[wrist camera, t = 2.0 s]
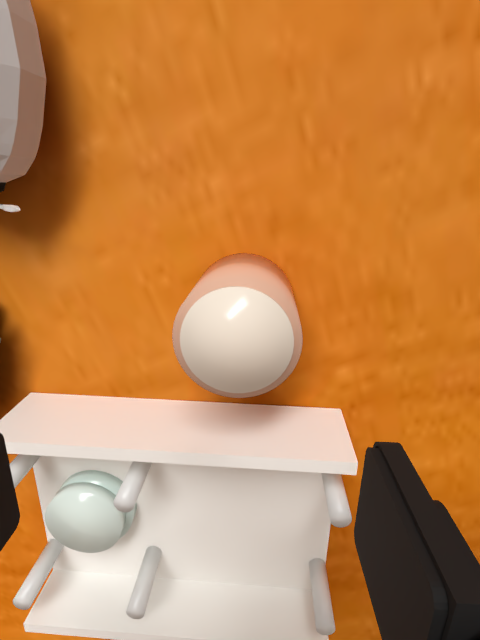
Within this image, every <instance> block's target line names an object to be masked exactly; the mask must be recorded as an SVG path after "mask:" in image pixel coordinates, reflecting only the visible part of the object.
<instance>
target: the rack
mask: <svg viewBox="0 0 480 640" xmlns="http://www.w3.org/2000/svg"><path fill="white" fill-rule="evenodd" d="M0 433H1V434H2V435H3V437H4V440H5V445H6V450H7V454H18V455H17V457H16V458H15V459H14V460H13V461H12V462H11V463H10V469H11V474H12V479H13V483H14V488H15V487H16V486H17V485H18V484H19V483H20V481H21V480H22V479H23V478H24V476H25V475H26V474H27V473H28V472H29V470H30V469H31V468H32V467H33V469H34V474H35V479H36V484H37V489H38V494H39V499H40V504H41V509H42V514H43V519H44V524H45V529H46V534H47V540H48V543H47V545H46V547H45V548H44V550H43V551H42V553H41V555H40V556H39V558H38V560H37V561H36V563H35V565H34V566H33V568H32V570H31V571H30V573H29V574H28V576H27V578H26V579H25V581H24V583H23V584H22V586H21V588H20V589H19V591H18V593H17V594H16V596H15V598H14V599H13V604H14V605H15V606H16V607H17V608H19V609H23V610H26V609H29V608H30V606H31V605H32V603H33V601H34V599H35V597H36V596H37V594H38V592H39V590H40V588H41V587H42V585H43V583H44V581H45V580H46V578H47V576H48V574H49V572H50V571H51V569H52V567H53V571H52V573H51V575H50V577H49V578H48V580H47V582H46V584H45V586H44V587H43V589H42V591H41V593H40V595H39V597H38V598H37V600H36V602H35V604H34V606H33V607H32V609H31V611H30V613H29V615H28V616H27V618H26V620H25V622H24V628H25V632H36V633H47V634H59V635H70V636H81V637H93V638H104V639H115V640H329V639H328V635H331V634H333V633H334V632H335V624H334V617H333V611H332V604H331V597H330V591H329V584H328V578H327V571H326V556H327V548H328V541H329V533H330V525H331V524H332V525H334V526H336V527H346V526H348V525H349V524H350V523H351V521H352V516H351V512H350V508H349V504H348V500H347V496H346V492H345V488H344V484H343V480H342V476H341V474H346V475H356V474H357V467H358V461H357V458H356V455H355V452H354V449H353V446H352V443H351V439H350V436H349V433H348V430H347V427H346V424H345V421H344V418H343V415H342V412H341V409H334V408H315V407H296V406H277V405H258V404H239V403H220V402H201V401H182V400H163V399H144V398H125V397H106V396H87V395H68V394H49V393H30V394H29V395H27V396H26V397H25V398H24V399H23V400H22V401H21V402H20V403H19V404H17V405H16V406H15V407H14V408H13V409H12V410H11V411H10V412H8V413H7V414H6V415H5V416H4V417H3V418H2V419H1V420H0ZM86 470H97V471H102V472H106V473H109V474H111V475H114V476H116V477H117V478H119V479H120V480H122V481H123V483H122V485H121V487H120V489H119V491H118V493H117V495H116V497H115V499H114V502H113V504H114V507H115V508H116V509H117V510H119V511H121V512H130V511H132V510H133V508H134V506H135V504H137V509H136V514H135V516H134V519H133V521H132V524H131V526H130V528H129V530H128V532H127V533H126V534H125V535H124V536H123V537H121V538H119V539H118V541H117V542H116V543H115V545H113V546H112V547H111V548H109V549H107V550H105V551H102V552H97V553H85V552H79V551H76V550H73V549H70V548H68V547H66V546H64V545H63V544H61V543H60V542H59V541H57V540H56V539H55V538H54V537H53V536H52V534H51V533H50V532H49V530H48V528H47V526H46V523H45V512H46V509H47V506H48V505H49V504H50V502H51V501H52V499H53V498H54V496H55V495H56V493H57V492H58V491H59V489H60V488H61V486H62V485H63V483H64V482H65V481H66V480H67V479H68V478H69V477H70V476H71V475H73V474H75V473H78V472H81V471H86Z"/></svg>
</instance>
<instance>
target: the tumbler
mask: <svg viewBox="0 0 480 640" xmlns="http://www.w3.org/2000/svg"><path fill="white" fill-rule="evenodd" d="M302 337H303V336H302V328H301V324H300V320H299V315H298V311H297V307H296V302H295V298H294V294H293V290H292V286H291V284H290V282H289V280H288V278H287V276H286V275H285V273H284V272H283V271H282V270H281V269H280V268H279V267H278V266H277V265H276V264H274V263H273V262H272V261H270V260H268V259H266V258H264V257H262V256H259V255H255V254H248V253H239V254H233V255H229V256H226V257H224V258H221V259H219V260H218V261H216V262H215V263H213V264H212V265H211V266H210V267H209V268H208V269H207V270H206V271H205V272H204V274H203V275H202V277H201V278H200V279H199V281H198V282H197V284H196V285H195V287H194V288H193V289H192V291H191V292H190V294H189V295H188V297H187V298H186V300H185V301H184V302H183V304H182V305H181V307H180V309H179V311H178V313H177V315H176V318H175V321H174V325H173V336H172V339H173V347H174V351H175V354H176V357H177V359H178V361H179V363H180V365H181V367H182V368H183V370H184V371H185V372H186V374H187V375H188V376H189V377H190V378H191V379H192V380H193V381H194V382H196V383H197V384H198V385H200V386H201V387H203V388H204V389H206V390H208V391H210V392H212V393H215V394H218V395H221V396H226V397H233V398H246V397H253V396H257V395H261V394H263V393H266V392H268V391H270V390H272V389H274V388H276V387H277V386H278V385H280V384H281V383H282V382H283V381H284V380H286V379H287V377H288V376H289V375H290V374H291V373H292V371H293V370H294V368H295V367H296V364H297V362H298V360H299V357H300V354H301V350H302Z"/></svg>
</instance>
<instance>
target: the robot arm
mask: <svg viewBox="0 0 480 640" xmlns="http://www.w3.org/2000/svg"><path fill="white" fill-rule="evenodd" d="M19 519H20V512H19V507H18V503H17V498H16V493H15V488H14V483H13V479H12V474H11V469H10V464H9V460H8V455H7V450H6V445H5V440H4V437H3V435H2V434H1V433H0V551H1V550H2V548H3V547H4V545H5V544H6V543H7V541H8V540H9V538H10V537H11V535H12V534H13V533H14V531H15V530H16V528H17V526H18V523H19ZM354 537H355V544H356V548H357V552H358V555H359V559H360V562H361V566H362V570H363V573H364V577H365V580H366V584H367V587H368V591H369V594H370V598H371V602H372V605H373V609H374V612H375V616H376V619H377V623H378V626H379V630H380V634H381V637H382V640H480V565H479V563H478V561H477V560H476V558H475V556H474V555H473V553H472V551H471V550H470V548H469V546H468V544H467V543H466V541H465V539H464V538H463V536H462V534H461V533H460V531H459V529H458V528H457V526H456V524H455V523H454V521H453V519H452V518H451V516H450V514H449V513H448V511H447V509H446V508H445V506H444V505H443V504H442V503H441V502H439V501H438V500H432V498H431V496H430V495H429V493H428V491H427V489H426V488H425V486H424V484H423V482H422V481H421V479H420V477H419V475H418V474H417V472H416V470H415V468H414V467H413V465H412V463H411V461H410V459H409V458H408V456H407V454H406V452H405V451H404V449H403V447H402V446H401V444H400V443H394V442H375V444H374V446H373V448H370V447H368V448H367V450H366V455H365V461H364V468H363V475H362V481H361V488H360V495H359V502H358V508H357V515H356V522H355V529H354Z"/></svg>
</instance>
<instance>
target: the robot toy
mask: <svg viewBox="0 0 480 640" xmlns="http://www.w3.org/2000/svg"><path fill="white" fill-rule="evenodd" d="M45 92H46V73H45V68H44V62H43V56H42V51H41V45H40V39H39V34H38V28H37V24H36V20H35V17H34V13H33V10H32V6H31V2H30V0H0V192H2V191H4V189H5V185H6V182H9V181H11V180H14V179H16V178H19V177H21V176H24V175H26V173H27V171H28V170H29V168H30V166H31V165H32V163H33V161H34V160H35V158H36V154H37V151H38V148H39V143H40V138H41V133H42V128H43V117H44V105H45ZM0 209H4V211H9V212H19V211H20V208H19V206H15V205H5V204H0Z"/></svg>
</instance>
